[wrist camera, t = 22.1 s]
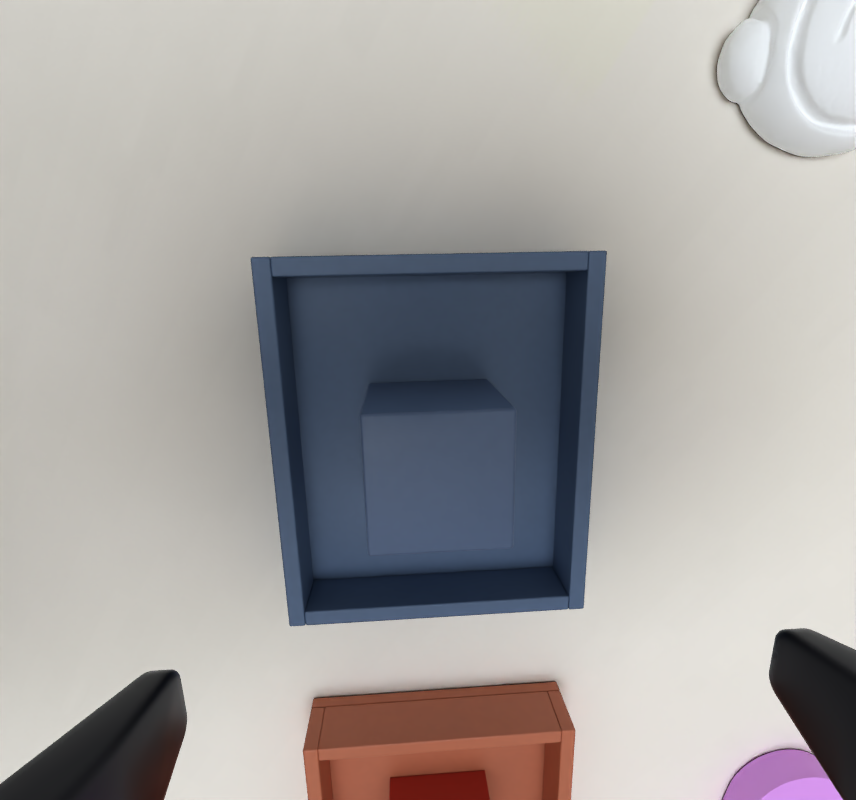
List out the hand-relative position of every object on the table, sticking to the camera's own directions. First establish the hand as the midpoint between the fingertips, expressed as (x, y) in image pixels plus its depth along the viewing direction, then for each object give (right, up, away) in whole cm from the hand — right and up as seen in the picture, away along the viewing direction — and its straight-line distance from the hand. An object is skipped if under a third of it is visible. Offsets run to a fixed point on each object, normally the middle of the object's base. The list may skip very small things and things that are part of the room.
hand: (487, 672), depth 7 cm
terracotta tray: (0, -16, +16) cm, 22 cm away
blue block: (-1, +3, +11) cm, 12 cm away
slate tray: (-1, +3, +12) cm, 12 cm away
